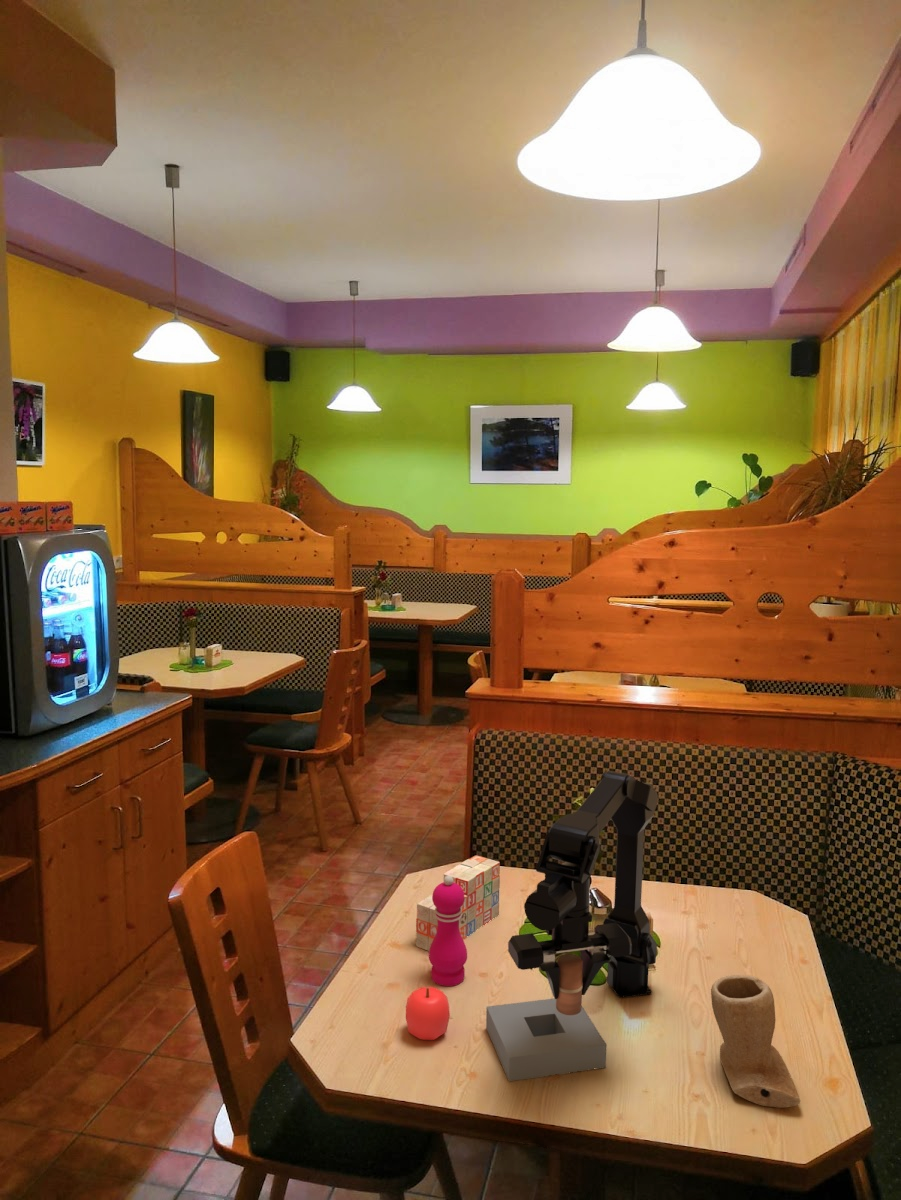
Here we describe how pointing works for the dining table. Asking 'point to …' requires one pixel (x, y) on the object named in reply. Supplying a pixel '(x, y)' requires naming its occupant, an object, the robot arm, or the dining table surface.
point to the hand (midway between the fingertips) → (568, 995)
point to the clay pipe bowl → (751, 1041)
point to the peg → (570, 984)
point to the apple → (427, 1013)
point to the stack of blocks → (478, 905)
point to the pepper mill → (448, 935)
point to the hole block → (543, 1039)
